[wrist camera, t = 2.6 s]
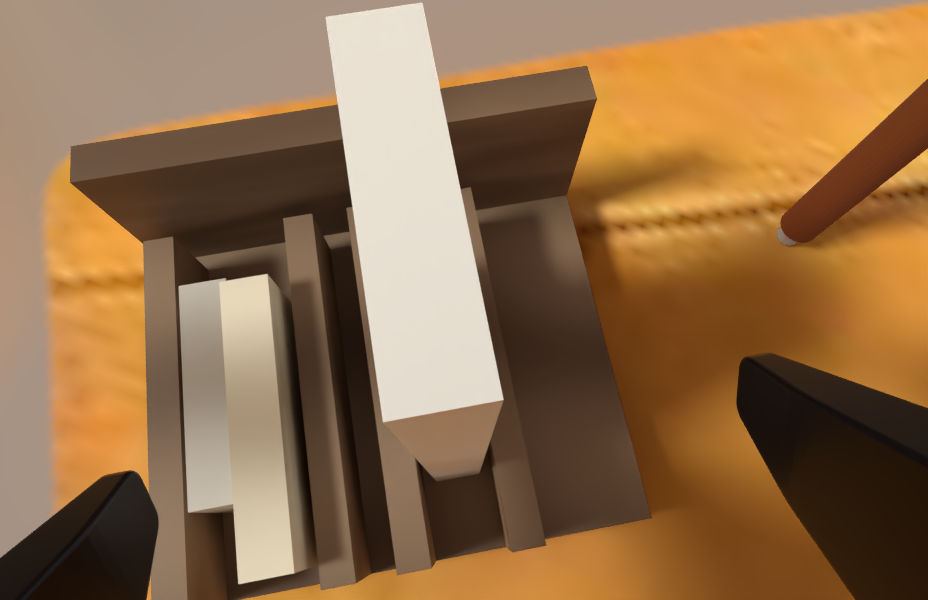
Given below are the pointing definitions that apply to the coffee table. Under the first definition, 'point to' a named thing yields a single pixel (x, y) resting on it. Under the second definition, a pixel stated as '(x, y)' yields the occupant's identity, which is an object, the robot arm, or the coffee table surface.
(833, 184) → the magnifying glass
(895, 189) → the coffee table surface
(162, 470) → the offcut rack
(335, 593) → the coffee table surface
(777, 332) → the coffee table surface
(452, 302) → the white flat board
